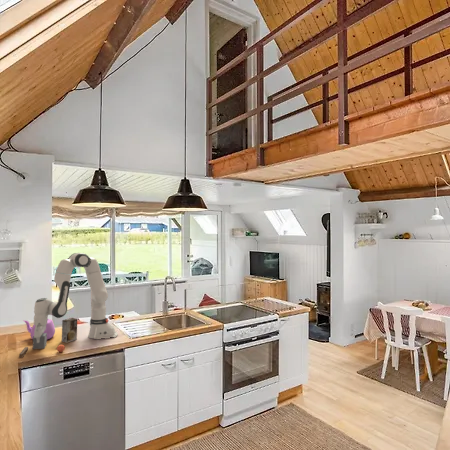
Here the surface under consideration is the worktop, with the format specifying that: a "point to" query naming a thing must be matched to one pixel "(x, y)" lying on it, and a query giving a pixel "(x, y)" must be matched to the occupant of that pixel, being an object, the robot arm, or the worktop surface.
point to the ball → (60, 348)
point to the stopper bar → (23, 352)
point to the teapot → (49, 330)
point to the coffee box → (69, 330)
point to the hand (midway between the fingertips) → (39, 340)
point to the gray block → (42, 342)
